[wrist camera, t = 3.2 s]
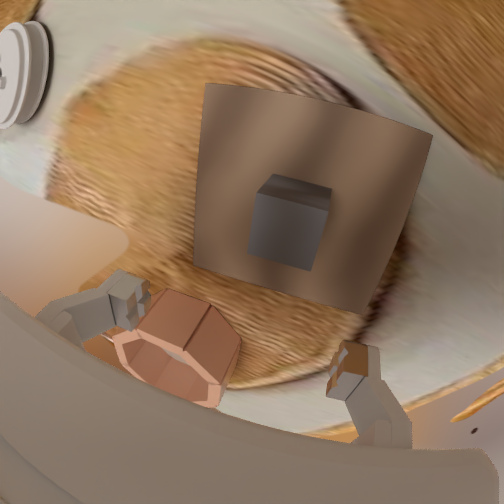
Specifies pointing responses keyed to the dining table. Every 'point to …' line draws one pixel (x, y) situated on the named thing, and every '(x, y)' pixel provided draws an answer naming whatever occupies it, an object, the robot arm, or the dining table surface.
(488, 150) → the dining table surface
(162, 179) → the dining table surface
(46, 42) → the lid
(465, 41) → the dining table surface
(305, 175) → the cover
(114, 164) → the dining table surface
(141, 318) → the ring
